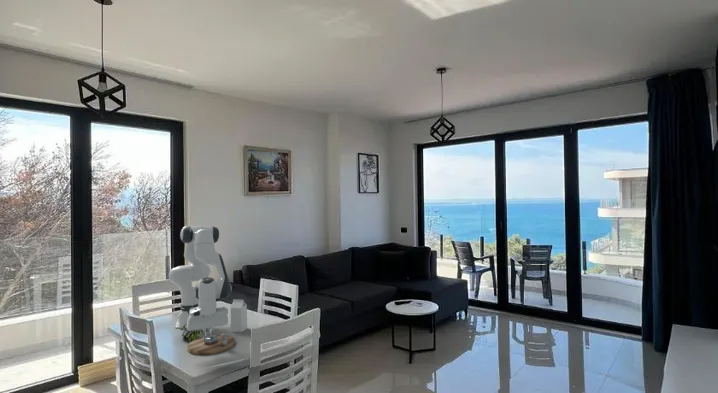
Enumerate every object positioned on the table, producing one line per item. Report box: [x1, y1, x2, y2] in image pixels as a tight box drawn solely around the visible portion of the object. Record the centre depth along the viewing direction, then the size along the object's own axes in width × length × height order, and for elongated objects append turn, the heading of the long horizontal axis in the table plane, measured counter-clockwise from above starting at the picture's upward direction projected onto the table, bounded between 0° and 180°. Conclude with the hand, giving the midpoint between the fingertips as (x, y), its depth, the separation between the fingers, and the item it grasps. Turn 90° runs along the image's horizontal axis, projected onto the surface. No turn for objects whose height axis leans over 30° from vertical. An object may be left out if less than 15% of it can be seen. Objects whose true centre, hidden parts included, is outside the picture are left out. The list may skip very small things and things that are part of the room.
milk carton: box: [229, 299, 248, 333], centre depth 247 cm, size 7×7×19 cm
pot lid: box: [204, 334, 218, 345], centre depth 220 cm, size 7×7×3 cm
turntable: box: [187, 333, 235, 356], centre depth 220 cm, size 24×24×8 cm
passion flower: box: [180, 324, 203, 343], centre depth 233 cm, size 11×11×12 cm
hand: (208, 335), depth 211 cm, fingers closed
